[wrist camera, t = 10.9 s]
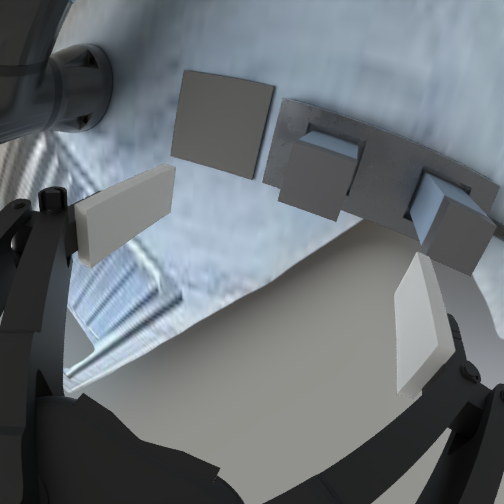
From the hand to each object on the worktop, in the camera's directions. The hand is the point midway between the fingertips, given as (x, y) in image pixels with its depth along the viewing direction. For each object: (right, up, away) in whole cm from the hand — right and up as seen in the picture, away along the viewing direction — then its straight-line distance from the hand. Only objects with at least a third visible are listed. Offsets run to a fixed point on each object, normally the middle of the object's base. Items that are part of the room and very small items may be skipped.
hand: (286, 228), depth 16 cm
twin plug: (+19, +5, +16) cm, 25 cm away
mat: (-6, +15, +21) cm, 27 cm away
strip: (+16, +7, +17) cm, 25 cm away
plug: (+7, +10, +18) cm, 22 cm away
